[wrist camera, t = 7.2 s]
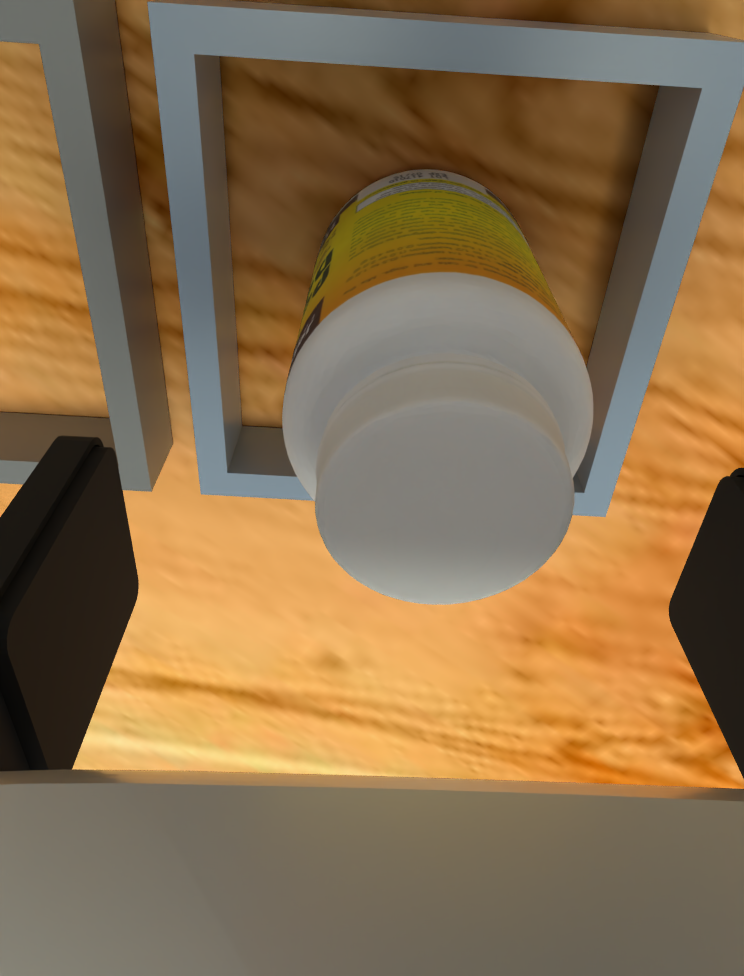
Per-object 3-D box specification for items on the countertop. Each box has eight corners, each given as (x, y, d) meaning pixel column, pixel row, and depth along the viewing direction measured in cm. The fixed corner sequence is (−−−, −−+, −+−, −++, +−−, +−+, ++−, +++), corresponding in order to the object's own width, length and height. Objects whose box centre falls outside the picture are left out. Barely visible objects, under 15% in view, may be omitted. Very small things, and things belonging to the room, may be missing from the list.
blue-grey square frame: (179, -4, 15) (147, 1, 13) (709, 33, 16) (757, 43, 14) (217, 446, 22) (200, 494, 20) (586, 467, 22) (605, 516, 20)
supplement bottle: (308, 165, 17) (236, 348, 9) (537, 160, 17) (673, 341, 9) (323, 371, 21) (280, 641, 12) (515, 368, 21) (600, 640, 12)
